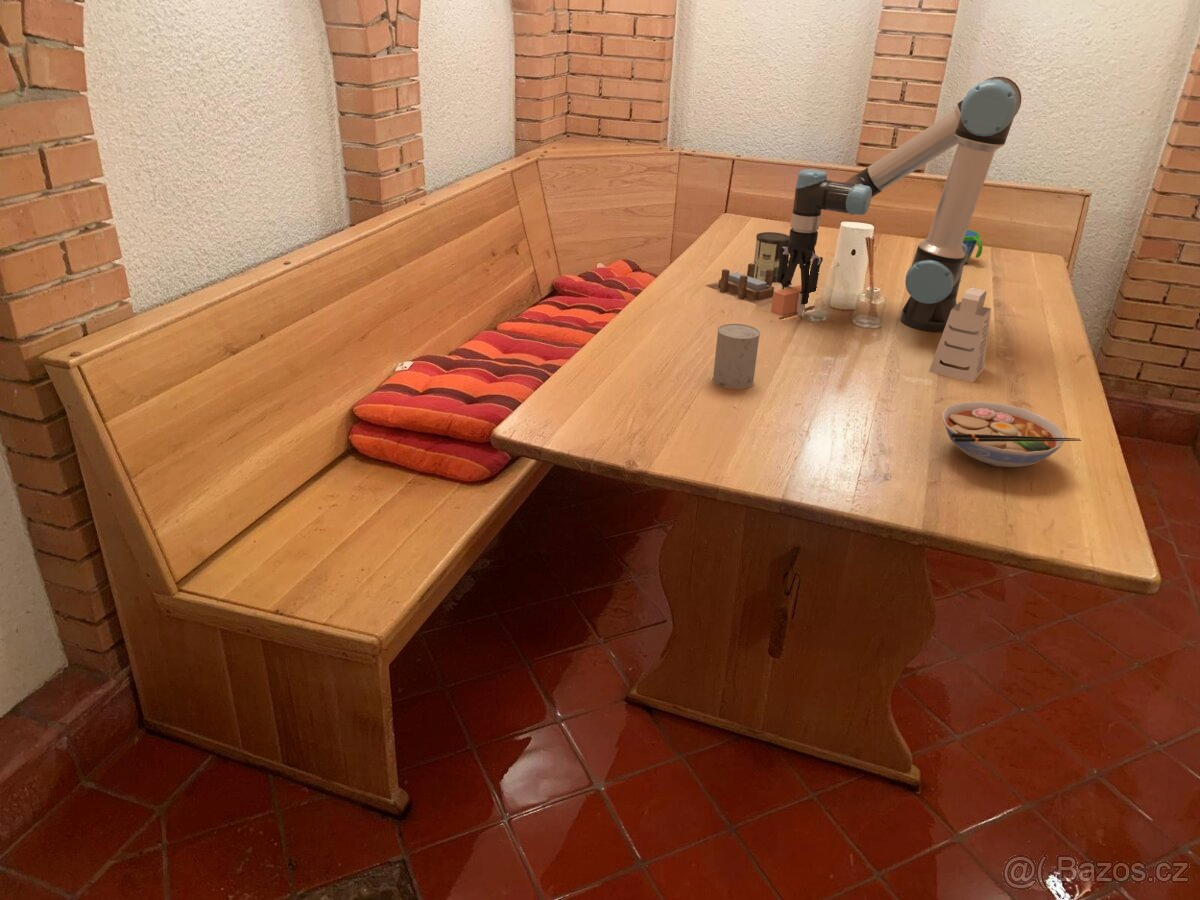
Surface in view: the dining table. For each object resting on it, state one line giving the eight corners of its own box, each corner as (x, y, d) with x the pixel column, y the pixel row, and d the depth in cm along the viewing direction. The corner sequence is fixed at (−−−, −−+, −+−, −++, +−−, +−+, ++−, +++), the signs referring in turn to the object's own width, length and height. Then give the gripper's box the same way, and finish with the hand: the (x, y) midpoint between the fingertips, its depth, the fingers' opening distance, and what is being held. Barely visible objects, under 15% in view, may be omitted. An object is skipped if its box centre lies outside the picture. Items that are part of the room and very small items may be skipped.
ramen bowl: (1028, 433, 193) (1038, 398, 189) (1082, 487, 172) (1095, 449, 169) (912, 431, 191) (920, 395, 188) (953, 485, 171) (963, 447, 167)
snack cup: (985, 266, 307) (993, 236, 302) (963, 269, 302) (970, 239, 298) (950, 254, 319) (956, 225, 314) (928, 257, 314) (934, 228, 310)
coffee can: (781, 276, 287) (787, 232, 280) (787, 286, 278) (793, 241, 271) (749, 275, 287) (754, 231, 280) (753, 285, 278) (758, 239, 271)
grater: (984, 369, 224) (1003, 290, 215) (972, 382, 216) (993, 301, 207) (941, 358, 229) (958, 282, 220) (928, 371, 221) (946, 292, 212)
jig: (787, 301, 265) (791, 276, 261) (758, 309, 257) (761, 283, 254) (732, 282, 280) (735, 257, 276) (703, 289, 272) (705, 264, 269)
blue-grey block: (765, 295, 265) (767, 282, 263) (756, 298, 263) (757, 284, 261) (735, 285, 273) (736, 272, 271) (726, 287, 271) (727, 274, 269)
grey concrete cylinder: (721, 390, 206) (727, 339, 200) (706, 374, 214) (711, 324, 209) (760, 387, 209) (767, 337, 203) (743, 371, 217) (749, 322, 211)
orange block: (813, 310, 259) (817, 287, 256) (781, 319, 251) (784, 295, 248) (802, 306, 262) (806, 283, 259) (770, 315, 254) (773, 291, 251)
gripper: (839, 234, 242) (825, 318, 252) (788, 220, 253) (777, 301, 264) (821, 238, 237) (808, 323, 248) (770, 224, 249) (759, 305, 260)
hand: (792, 311), depth 256 cm, fingers open, 5 cm apart
